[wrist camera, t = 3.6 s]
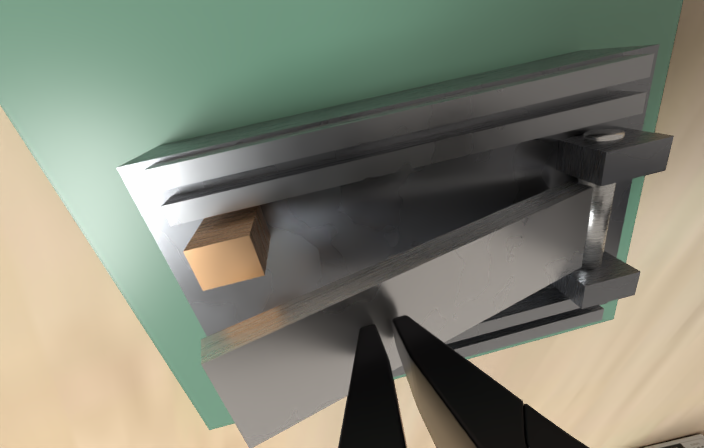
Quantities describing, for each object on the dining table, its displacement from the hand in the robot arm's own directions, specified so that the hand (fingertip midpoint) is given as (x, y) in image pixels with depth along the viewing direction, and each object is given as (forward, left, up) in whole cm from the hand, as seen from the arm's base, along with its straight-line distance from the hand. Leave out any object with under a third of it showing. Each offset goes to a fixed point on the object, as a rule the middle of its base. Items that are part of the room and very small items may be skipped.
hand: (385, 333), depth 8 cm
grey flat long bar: (0, -2, -1) cm, 2 cm away
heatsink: (0, -2, -7) cm, 7 cm away
